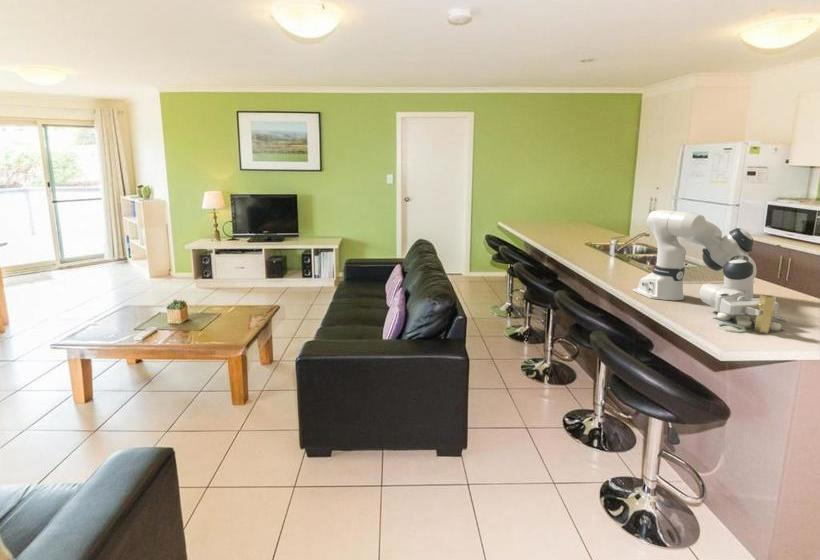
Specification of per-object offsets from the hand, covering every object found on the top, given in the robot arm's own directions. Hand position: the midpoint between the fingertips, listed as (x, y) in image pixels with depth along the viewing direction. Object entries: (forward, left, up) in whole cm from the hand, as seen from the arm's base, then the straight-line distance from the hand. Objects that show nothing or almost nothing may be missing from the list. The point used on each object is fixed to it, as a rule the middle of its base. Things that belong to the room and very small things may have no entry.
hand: (767, 312), depth 175 cm
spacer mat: (-8, +3, -8) cm, 12 cm away
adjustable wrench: (-16, +22, -9) cm, 28 cm away
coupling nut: (-1, 0, -7) cm, 7 cm away
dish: (-7, -8, -8) cm, 13 cm away
